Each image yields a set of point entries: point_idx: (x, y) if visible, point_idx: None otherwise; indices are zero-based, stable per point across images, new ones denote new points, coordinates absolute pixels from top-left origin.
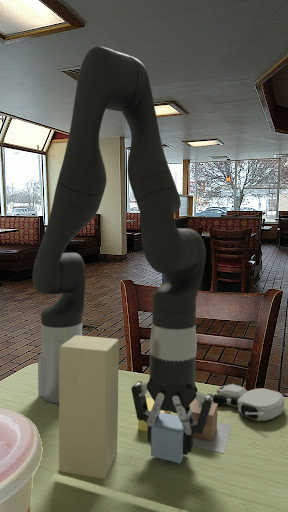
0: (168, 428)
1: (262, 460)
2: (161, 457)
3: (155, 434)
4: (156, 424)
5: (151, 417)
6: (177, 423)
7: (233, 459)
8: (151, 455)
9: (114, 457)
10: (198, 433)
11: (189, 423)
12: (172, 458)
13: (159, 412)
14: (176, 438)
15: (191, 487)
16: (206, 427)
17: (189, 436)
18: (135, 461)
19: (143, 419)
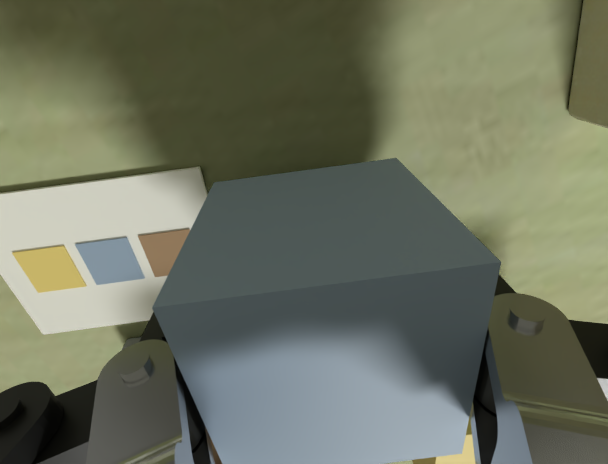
0: (317, 320)
1: (3, 384)
2: (330, 169)
3: (422, 230)
4: (458, 320)
5: (555, 371)
6: (277, 409)
7: (91, 346)
8: (393, 159)
9: (603, 69)
10: (35, 382)
11: (90, 457)
12: (260, 182)
13: (484, 457)
14: (217, 263)
15: (124, 99)
16: (211, 441)
17: (158, 338)
18: (464, 143)
19: (602, 331)
